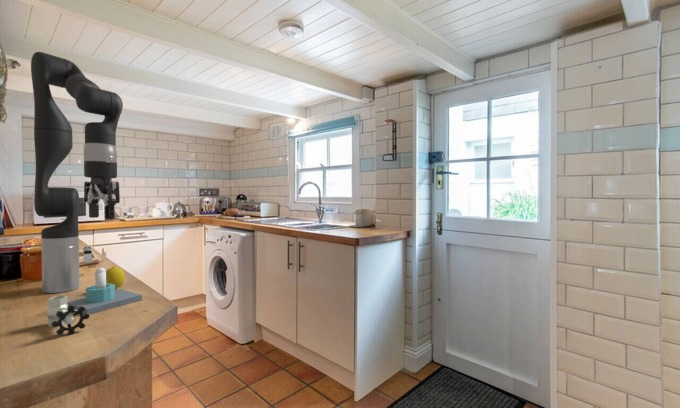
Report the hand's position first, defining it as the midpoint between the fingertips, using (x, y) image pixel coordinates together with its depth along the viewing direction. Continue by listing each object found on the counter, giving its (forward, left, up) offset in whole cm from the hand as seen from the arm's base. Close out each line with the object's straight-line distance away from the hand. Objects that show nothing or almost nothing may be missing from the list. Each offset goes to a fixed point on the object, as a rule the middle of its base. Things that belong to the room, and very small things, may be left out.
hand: (101, 218), depth 92 cm
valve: (+11, -13, -25) cm, 30 cm away
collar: (0, -1, -23) cm, 23 cm away
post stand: (0, -1, -24) cm, 24 cm away
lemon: (-11, +8, -25) cm, 28 cm away
